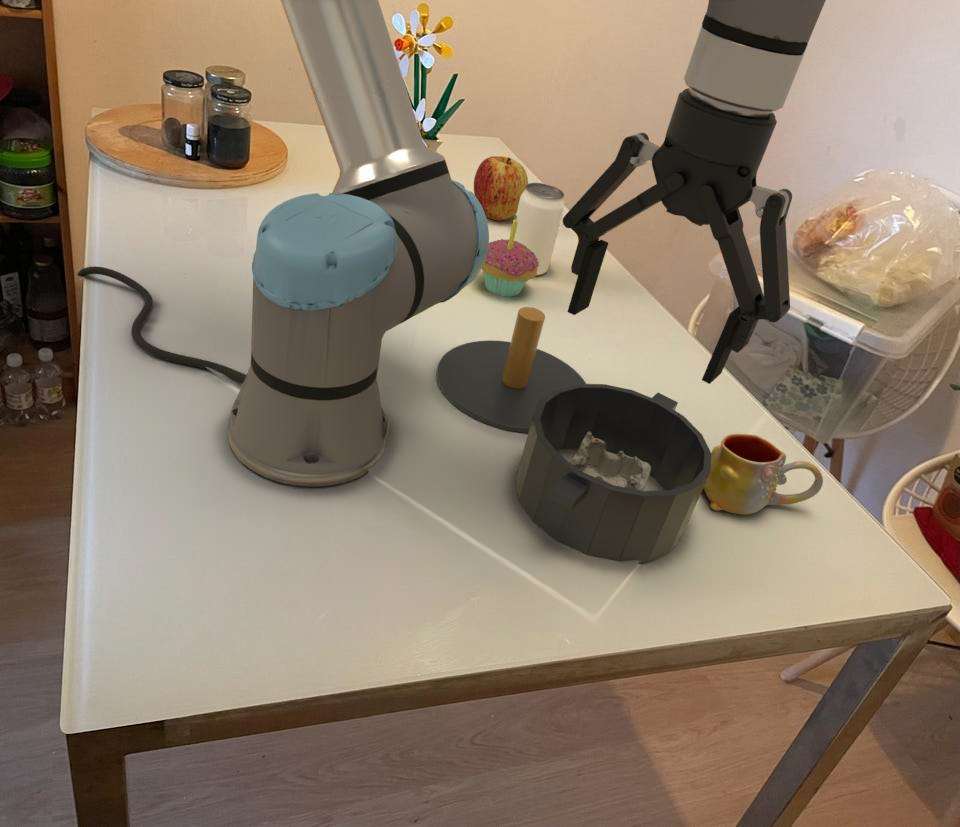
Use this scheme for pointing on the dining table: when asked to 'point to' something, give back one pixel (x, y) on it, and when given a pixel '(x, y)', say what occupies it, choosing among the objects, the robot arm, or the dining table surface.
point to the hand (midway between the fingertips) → (642, 342)
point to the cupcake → (508, 265)
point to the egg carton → (611, 464)
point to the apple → (500, 186)
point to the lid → (504, 375)
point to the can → (539, 221)
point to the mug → (752, 475)
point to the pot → (595, 503)
